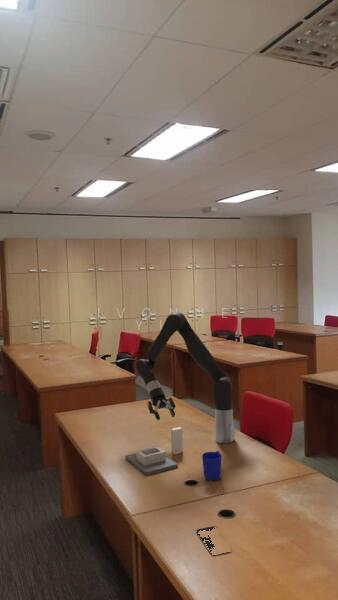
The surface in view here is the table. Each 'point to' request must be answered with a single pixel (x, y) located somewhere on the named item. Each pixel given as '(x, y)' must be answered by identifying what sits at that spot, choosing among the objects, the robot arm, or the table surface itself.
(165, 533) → the table surface
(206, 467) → the mug
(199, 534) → the phone
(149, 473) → the block insertion holder
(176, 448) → the rectangular block
